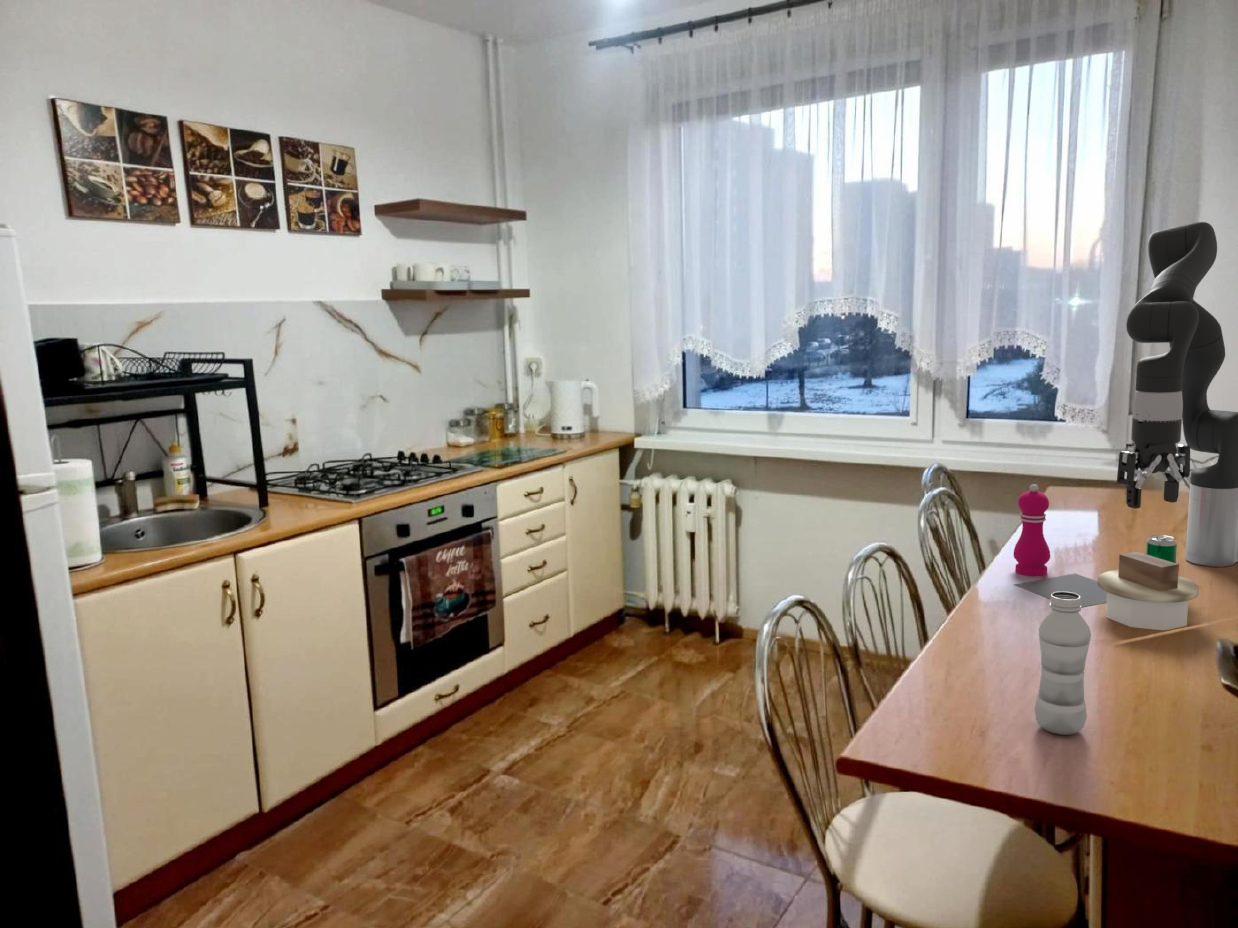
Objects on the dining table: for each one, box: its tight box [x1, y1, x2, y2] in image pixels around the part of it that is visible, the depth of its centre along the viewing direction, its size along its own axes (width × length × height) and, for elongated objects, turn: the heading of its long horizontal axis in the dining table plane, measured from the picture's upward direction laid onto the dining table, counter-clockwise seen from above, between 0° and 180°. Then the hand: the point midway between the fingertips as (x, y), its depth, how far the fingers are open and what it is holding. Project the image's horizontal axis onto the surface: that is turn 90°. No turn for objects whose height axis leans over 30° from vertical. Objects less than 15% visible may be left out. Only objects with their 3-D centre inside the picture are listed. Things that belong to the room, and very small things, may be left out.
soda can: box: [1145, 534, 1178, 564], centre depth 172 cm, size 5×5×12 cm
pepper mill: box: [1013, 483, 1051, 578], centre depth 189 cm, size 7×7×20 cm
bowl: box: [1105, 592, 1189, 631], centre depth 162 cm, size 13×13×6 cm
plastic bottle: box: [1034, 592, 1092, 736], centre depth 123 cm, size 6×7×20 cm
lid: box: [1097, 551, 1200, 603], centre depth 161 cm, size 16×16×6 cm
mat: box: [1013, 573, 1107, 609], centre depth 178 cm, size 16×16×1 cm
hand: (1152, 504), depth 158 cm, fingers open, 8 cm apart
